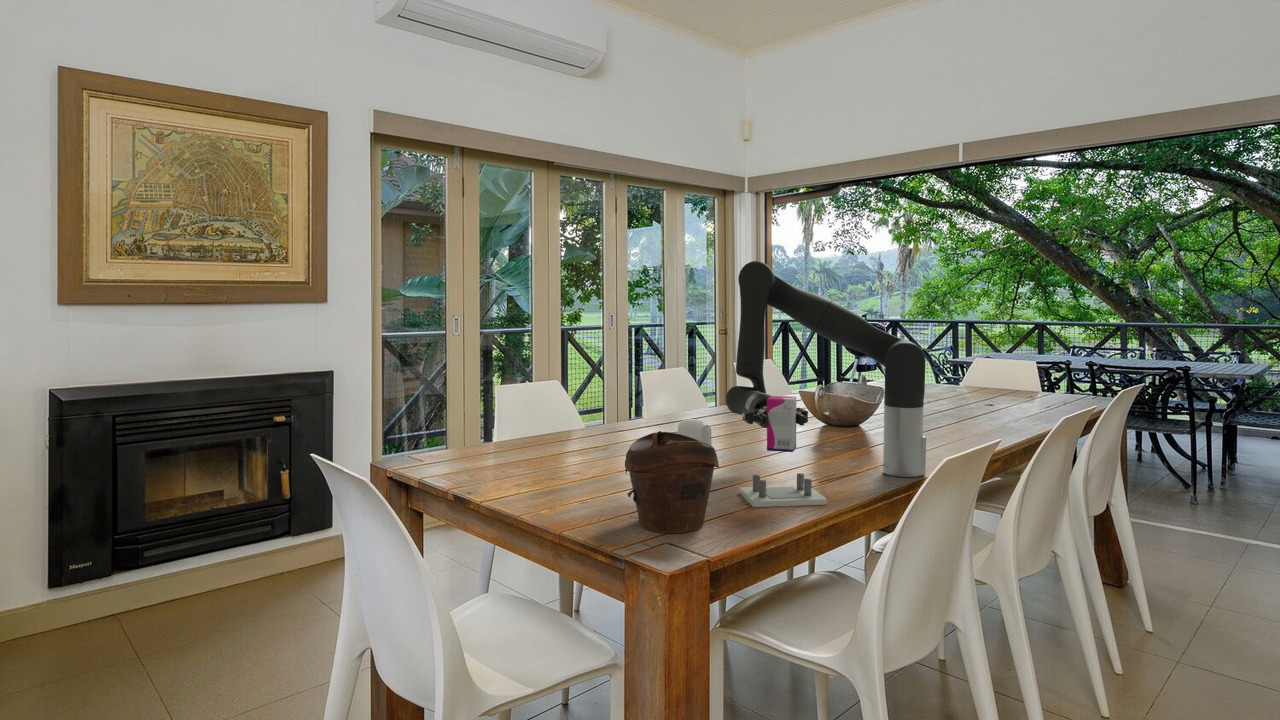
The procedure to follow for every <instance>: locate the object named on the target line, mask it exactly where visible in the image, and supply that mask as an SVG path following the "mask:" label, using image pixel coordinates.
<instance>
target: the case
mask: <svg viewBox="0 0 1280 720" xmlns="http://www.w3.org/2000/svg"><path fill="white" fill-rule="evenodd" d="M718 460H719V459H718V454H717V452H716V450H715V448H714V447H713V445H712V444H711V445H708V444H706V443H703V442H701V441H699V440H696V439H694V438H691V437H688V436H685V435H682V434H678V432H677V433H676V432H672V431H671V432H668V431H661V430H658V431H657V432H652V433H649V434H646V435H644V436H641V437H640V438H638V439H637V440H635V441H634V442H632V444H631V445H630V446H629V448H628V450H627V451H626V454H625V460H624V467H625V474H627V473H628V472H629V477H630V483H631V487H632V489H631V490H630V491H628V493H627V497H628V498H631V496H632V495H633V496H632V500H633V502H635V503H634V504H635V507H636V511H637V516H638V517H637V518H638V520H639V523H640V526H641V527H642V528H645V530H648V531H652V532H653V533H661V534H682V533H683V534H684V533H689V532H690V533H691V532H693V531H696V530H698V529H700V528H701V527H702V526H703V525H704V523H705V517H706V512H707V508H708V502H709V497H710V492H711V488H712V482H713V475H714V470H715V468H718V469H720V465H719V461H718Z"/></svg>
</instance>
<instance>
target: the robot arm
mask: <svg viewBox="0 0 1280 720" xmlns="http://www.w3.org/2000/svg"><path fill="white" fill-rule="evenodd" d="M738 286H739V296H740V322H739V331H738V332H739V333H738V334H739V335H738V340H737V341H738V342H737V352H736V353H737V354H736V362H735V363H736V364H735V373H736V375H737V376H738V377H741V378H744V379H747V380H749V381H751V383H752V386H744V385H743V386H742V385H735V386H732V387H730V388H729V390H728V391H727V393H726V397H725V403H726V407H727V409H728V410H729V411H730V412H731V413H733V414H735V415H740V416H742V420H743V422H745V423H746V424H749V425H753V424H754V423H755V424H756V425H758V426H760V427H761V428H764V429H767V426H768V416H767V399H768V398H769V397H771V396H772V395H771V394H769V393H767V391H766V390H767V389H766V386H765V385H766V384H765V379H764V360H765V350H766V349H765V345H766V344H765V343H766V342H765V340H766V339H765V338H766V337H765V336H766V335H765V330H766V329H765V320H766V316H765V315H766V309H767V306H769V307H772V308H774V309H776V310H778V311H780V312H782V313H784V314H786V315H787V316H788V317H789V318H791V319H793V320H794V321H796V322H797V323H798V324H801V326H804V327H805V328H807V329H808V330H809V331H811V332H814V333H815V334H817V335H819V336H821V337H823V338H824V339H827V340H829V341H831V342H833V343H834V344H838V345H841V346H842V347H845V348H848V349H851V350H854V351H856V352H860V353H862V354H864V355H865V356H868V357H869V358H871V359H872V360H874V361H876V362H877V363H879V364H880V365H882V366H883V367H884V391H883V392H884V393H883V394H884V400H883V402H884V408H883V412H884V413H883V450H882V451H883V454H882V455H883V456H882V457H883V458H882V459H883V460H882V472H883V474H886V475H889V476H892V477H899V478H917V477H921V476H926V469H927V468H926V465H927V464H926V463H927V462H926V461H927V459H926V458H927V457H926V456H927V437H926V436H924V406H925V405H924V403H925V390H926V389H925V388H926V356H925V353H924V351H923V349H921V347H920V346H919V345H917V344H916V343H915V342H912V341H910V340H906V339H903V338H901V337H898V336H895V335H893V334H891V333H888V332H886V331H884V330H881V329H879V328H878V327H876V326H874V325H873V324H871V322H869V321H867V320H866V319H864V318H863V317H861V316H860V315H858V314H857V313H855V312H854V311H852V310H850V309H849V308H847V307H845V306H843V305H842V304H840V303H838V302H836V301H834V300H831V299H829V298H828V297H825V296H822V295H819V294H817V293H814V292H811V291H807V290H804V289H801V288H798V287H796V286H794V285H792V284H791V283H790V282H787V281H785V280H784V279H782V278H781V277H779V276H777V274H775V273H774V272H773V270H772V268H771V267H770V266H769V265H768V264H766V263H764V262H762V261H761V260H754V261H749V262H747V263H746V264H745V265H744V266H743V267H742V268H741V269H740V271H739V273H738ZM808 416H809V411H808V410H806V409H803V408H801V407H796V425H799V426H804V425H805V424H807V423H809V417H808Z"/></svg>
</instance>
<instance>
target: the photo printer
mask: <svg viewBox="0 0 1280 720" xmlns="http://www.w3.org/2000/svg"><path fill="white" fill-rule="evenodd" d="M677 434H682V435H685V436H688V437H691V438H694V439H696V440H699V441H701V442H703V443H706V444H708V445H711V446H712V429H711V425H709V424H708V423H707V422H705V421H703V420H701V419H695V418H689V419H688V418H687V419H684V420H681V421H680V422H679V423H678V427H677Z"/></svg>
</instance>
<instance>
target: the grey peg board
mask: <svg viewBox="0 0 1280 720" xmlns="http://www.w3.org/2000/svg"><path fill="white" fill-rule="evenodd" d="M812 481H813V480H812V478H807V477H806V478H805V473H800V472H797V473H796V485H772V486H771V485H770V486H767V480H765V479H761V475H760V474H752V486H742V487H741V486H740V487H739V494H740V495H741V496H742V497H743V499H745V500H746V502H747V503H748V504H750V505H751V507H752V508H762V507H763V508H765V507H770V508H771V507H793V506H795V507H796V506H819V505H820V506H823V505H824V506H825V505H827V502H828V499H827V498H826V497H825V496H823V495H822V494H821V493H820V492H818V491H816V489H814V488H812V486H813V485H812V484H813V482H812Z"/></svg>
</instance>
